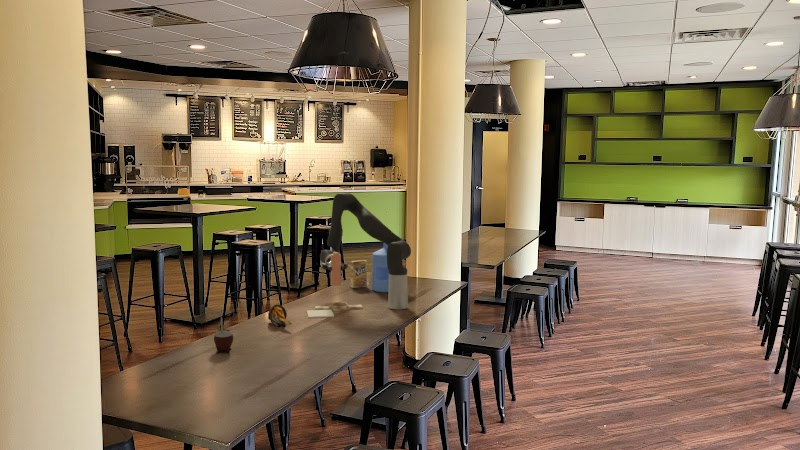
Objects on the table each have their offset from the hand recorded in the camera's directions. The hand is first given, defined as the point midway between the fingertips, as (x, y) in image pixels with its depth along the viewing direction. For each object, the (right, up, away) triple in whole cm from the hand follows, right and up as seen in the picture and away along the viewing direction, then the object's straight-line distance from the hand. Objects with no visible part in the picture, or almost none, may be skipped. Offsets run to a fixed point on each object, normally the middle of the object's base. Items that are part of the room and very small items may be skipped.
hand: (336, 268), depth 304 cm
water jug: (+23, -16, +51) cm, 58 cm away
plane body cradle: (+1, -20, +7) cm, 21 cm away
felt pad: (-7, -21, -5) cm, 23 cm away
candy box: (+7, -15, +58) cm, 60 cm away
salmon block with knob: (-1, -8, +4) cm, 9 cm away
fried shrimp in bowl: (-22, -24, -26) cm, 41 cm away
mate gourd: (-37, -28, -63) cm, 78 cm away
